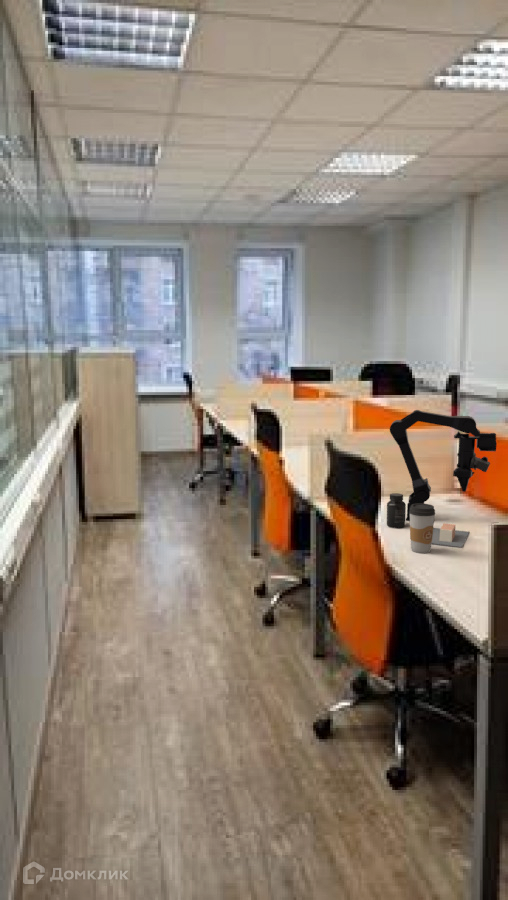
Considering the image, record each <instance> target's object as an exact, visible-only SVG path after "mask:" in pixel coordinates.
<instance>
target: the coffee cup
mask: <svg viewBox="0 0 508 900" xmlns="http://www.w3.org/2000/svg"><path fill="white" fill-rule="evenodd" d="M409 513H410V521H409V536H410V537H409V538H410V549H411V551H412V552H413V553H417V554H428V553H430V551H431V549H432V544H431V543H432V536H433V528H435V527H434V523H435V515H436V509H435V506H434V505H432V504H428V503H425V504H423V503H417V504H412V505H411V508H410V511H409Z"/></svg>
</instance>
